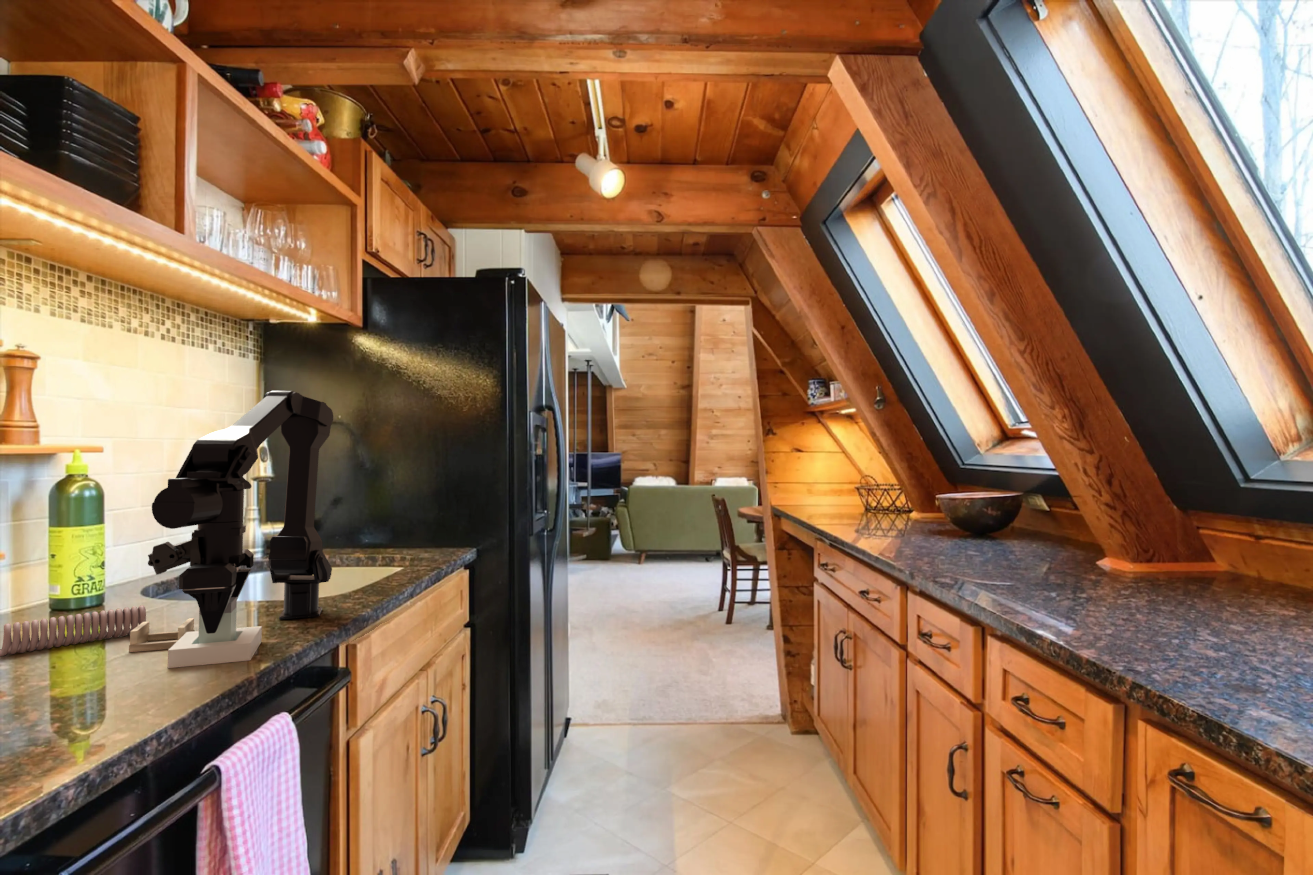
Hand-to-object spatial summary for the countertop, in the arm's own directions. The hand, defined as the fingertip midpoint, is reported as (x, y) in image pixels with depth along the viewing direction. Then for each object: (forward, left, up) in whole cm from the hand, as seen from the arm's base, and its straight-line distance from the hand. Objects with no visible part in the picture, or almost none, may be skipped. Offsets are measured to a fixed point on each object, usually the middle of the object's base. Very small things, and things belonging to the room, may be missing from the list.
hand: (218, 625), depth 100 cm
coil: (-15, -22, -5) cm, 26 cm away
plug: (0, 0, -4) cm, 4 cm away
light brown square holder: (-9, -9, -4) cm, 13 cm away
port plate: (0, 0, -4) cm, 4 cm away
